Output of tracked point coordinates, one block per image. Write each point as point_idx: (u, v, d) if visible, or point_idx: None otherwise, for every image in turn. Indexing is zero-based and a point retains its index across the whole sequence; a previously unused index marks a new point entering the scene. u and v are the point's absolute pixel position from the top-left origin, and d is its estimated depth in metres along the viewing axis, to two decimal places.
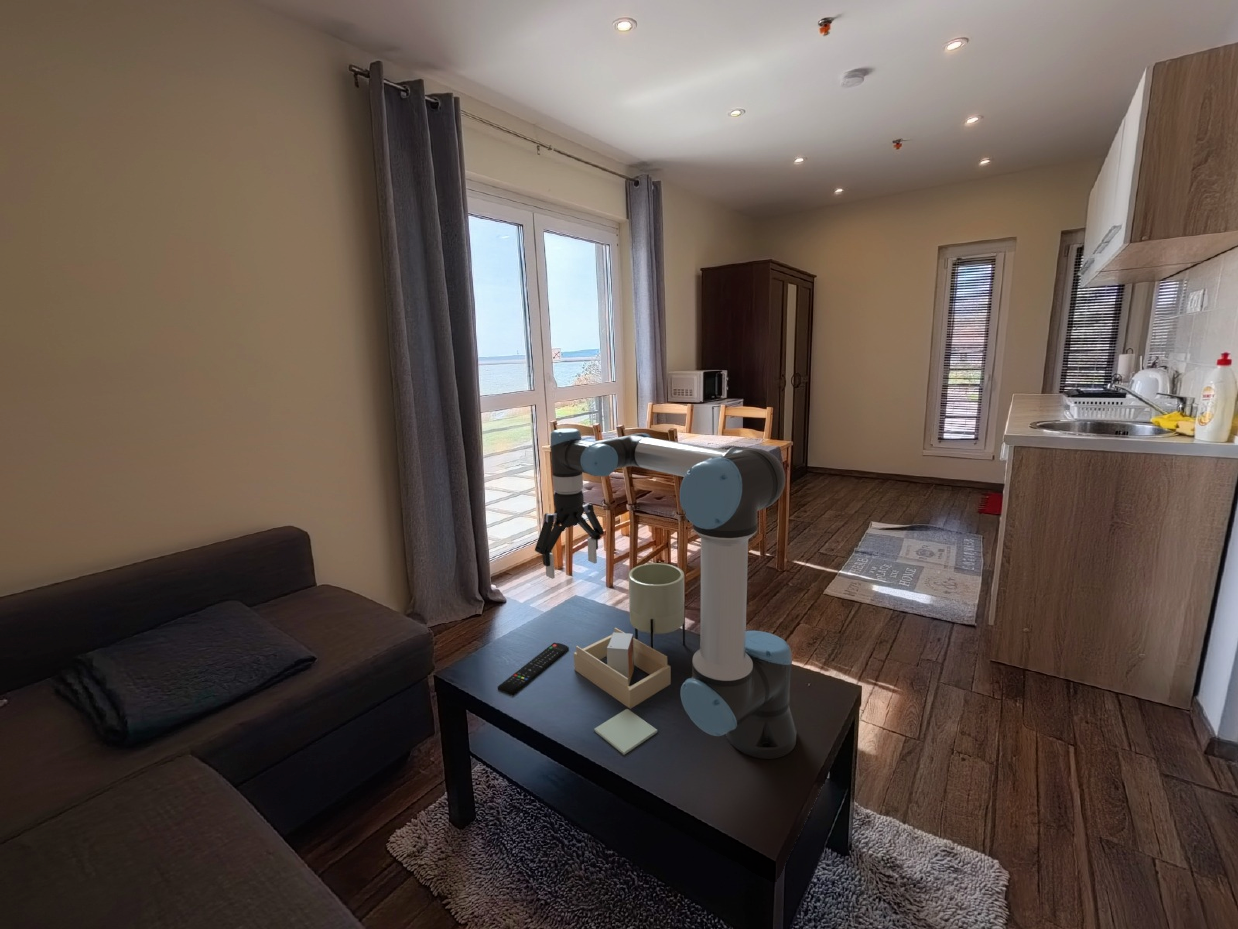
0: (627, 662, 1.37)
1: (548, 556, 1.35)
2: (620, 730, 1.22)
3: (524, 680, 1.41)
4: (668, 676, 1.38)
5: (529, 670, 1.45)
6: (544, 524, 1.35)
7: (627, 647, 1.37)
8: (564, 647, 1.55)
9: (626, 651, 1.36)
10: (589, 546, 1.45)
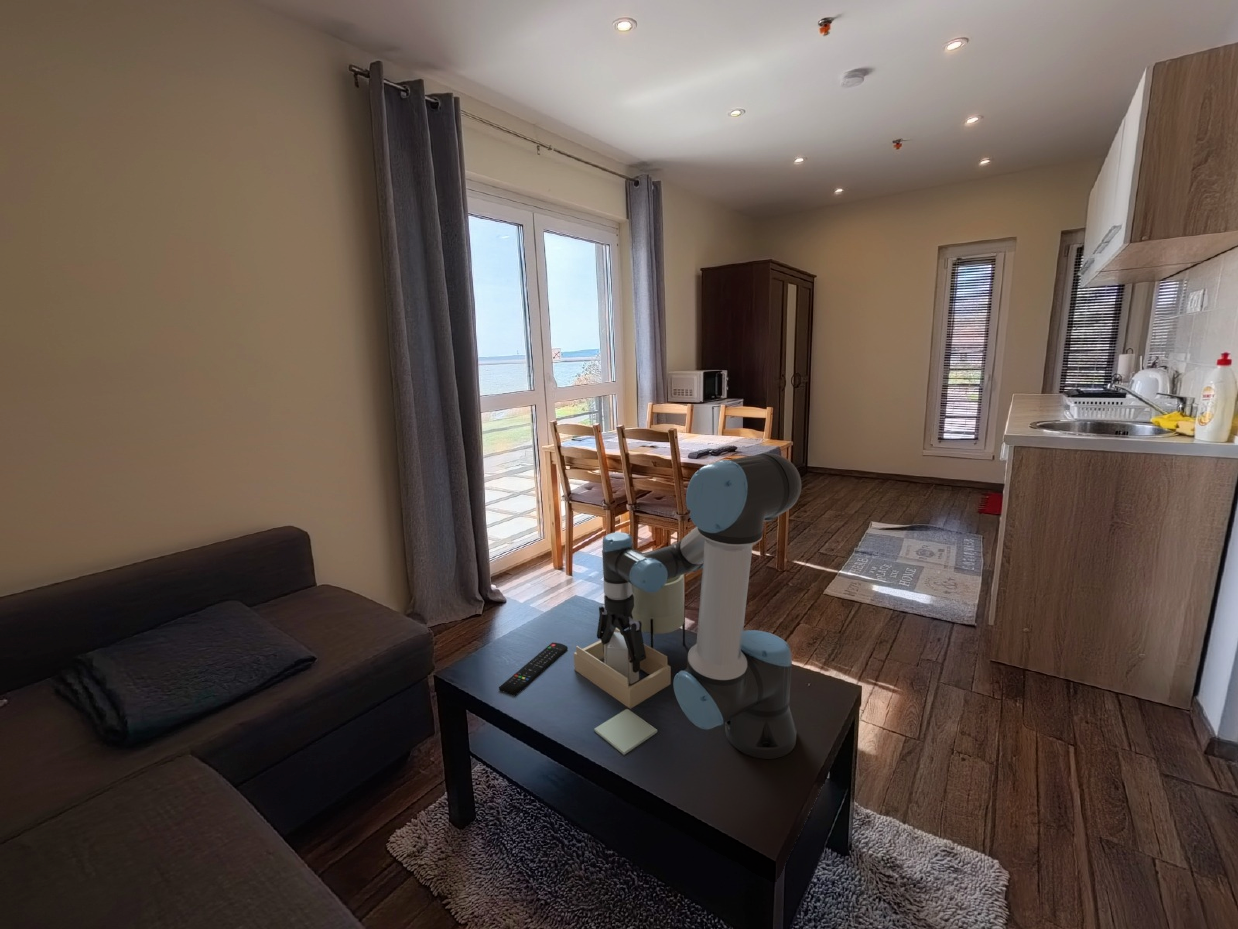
0: (627, 662, 1.37)
1: None
2: (620, 730, 1.22)
3: (525, 680, 1.41)
4: (668, 676, 1.38)
5: (529, 670, 1.45)
6: None
7: None
8: (563, 647, 1.56)
9: (626, 651, 1.36)
10: None
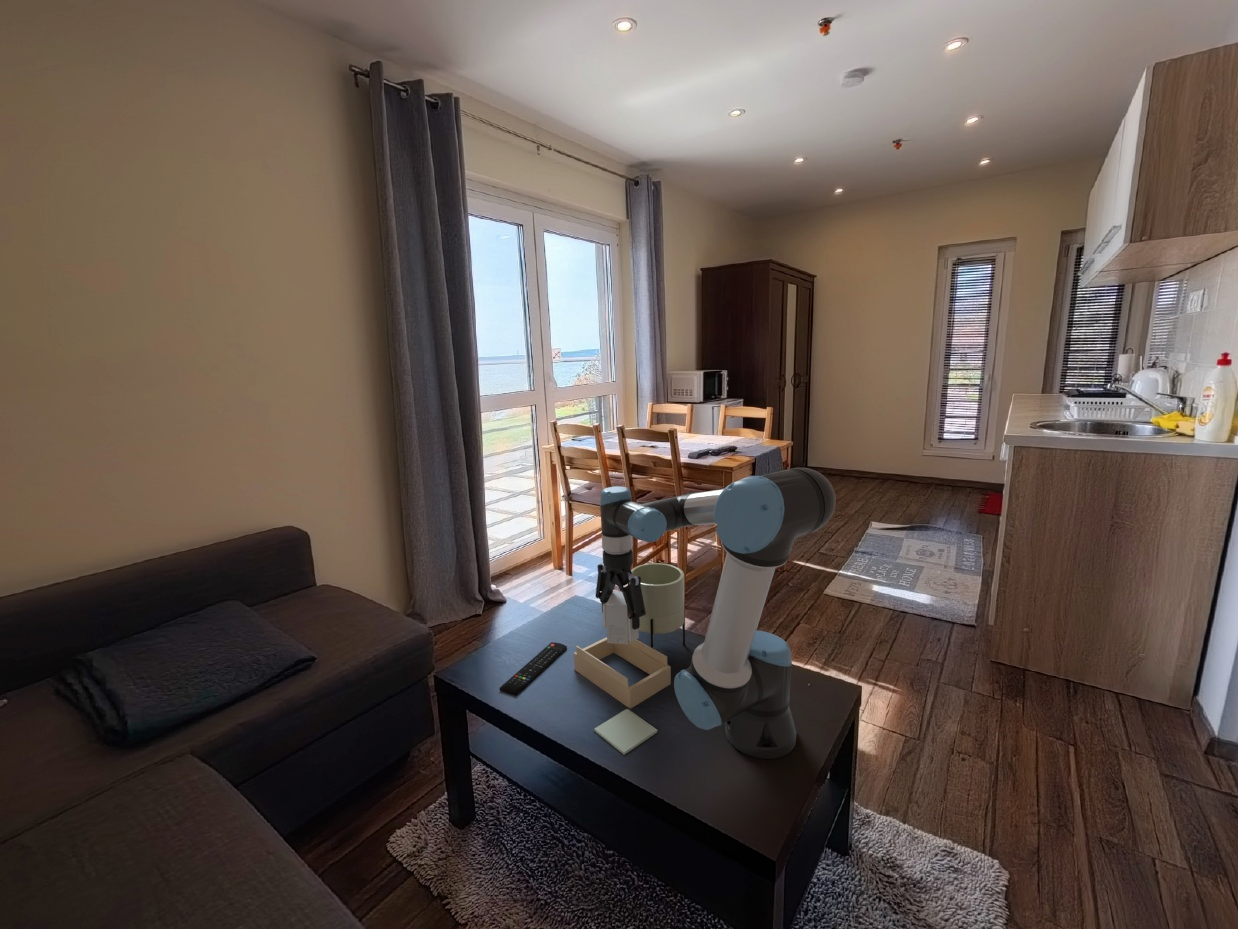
0: (626, 619, 1.34)
1: None
2: (620, 730, 1.22)
3: (526, 680, 1.41)
4: (668, 676, 1.38)
5: (529, 670, 1.45)
6: None
7: None
8: (562, 646, 1.56)
9: (625, 607, 1.33)
10: None
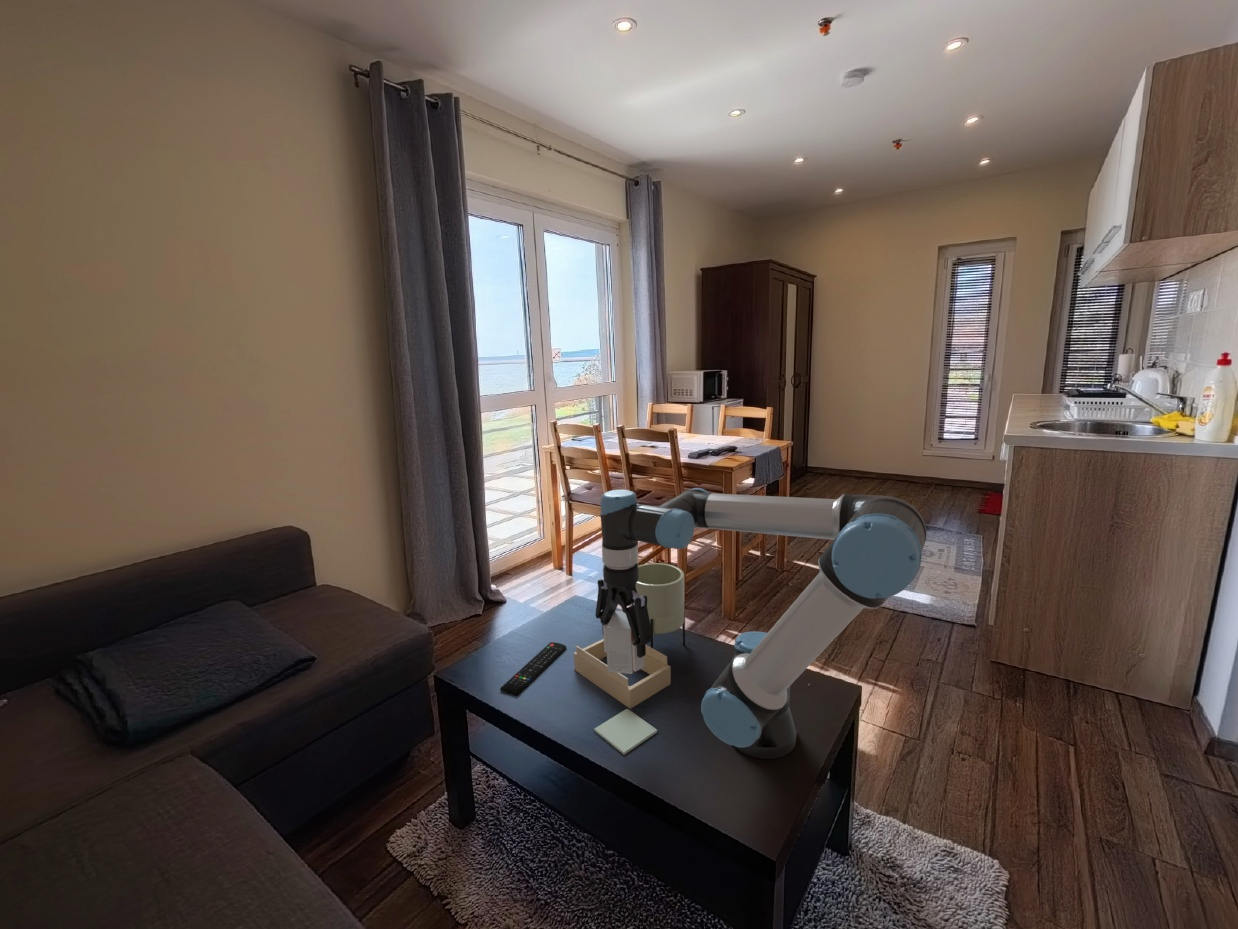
0: (630, 645, 1.14)
1: None
2: (620, 730, 1.22)
3: (526, 680, 1.41)
4: (668, 676, 1.38)
5: (530, 670, 1.45)
6: None
7: None
8: (562, 646, 1.56)
9: (629, 632, 1.14)
10: None
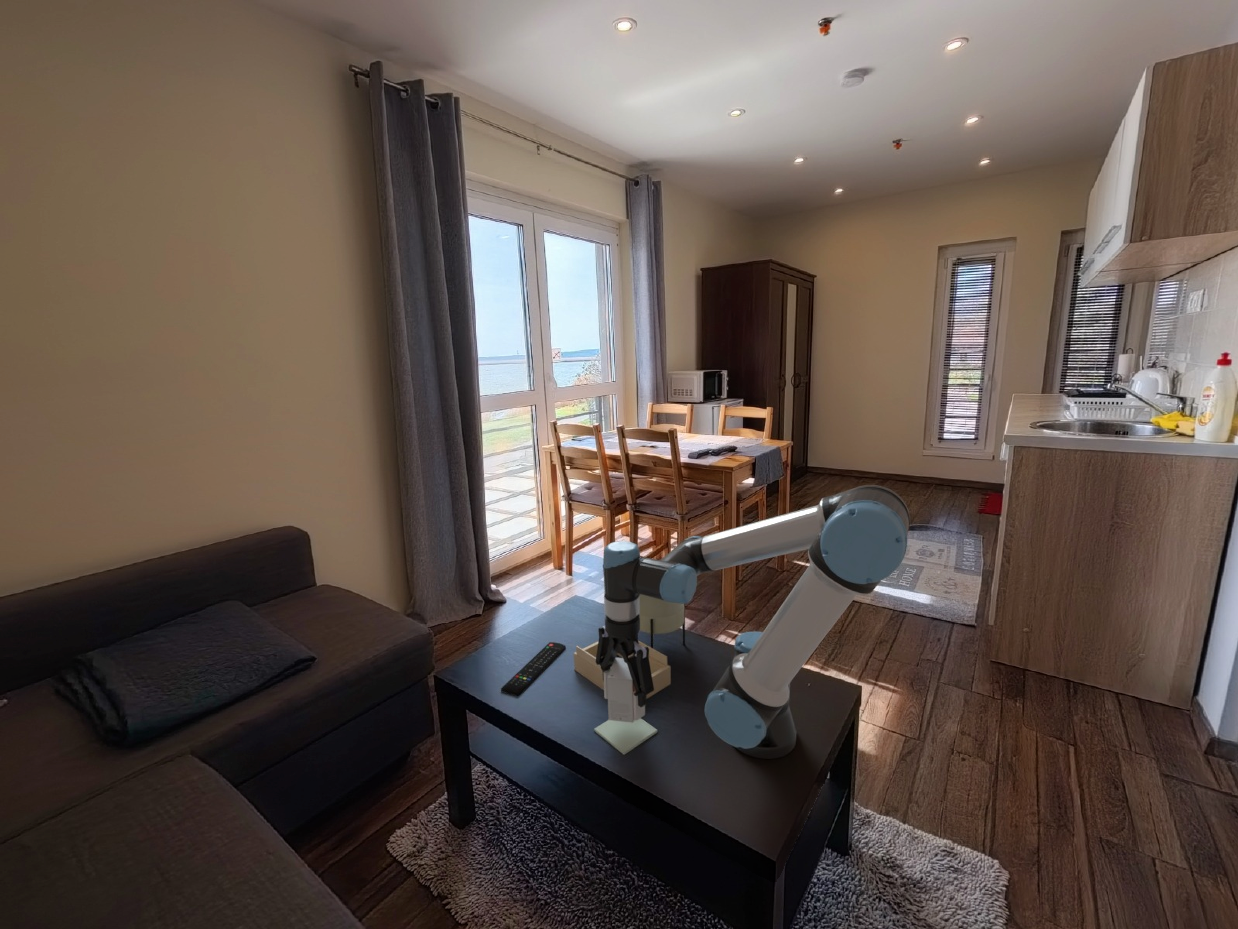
0: (631, 695, 1.15)
1: None
2: (620, 730, 1.22)
3: (527, 680, 1.41)
4: (668, 676, 1.38)
5: (530, 670, 1.45)
6: None
7: None
8: (561, 646, 1.56)
9: (630, 682, 1.15)
10: None
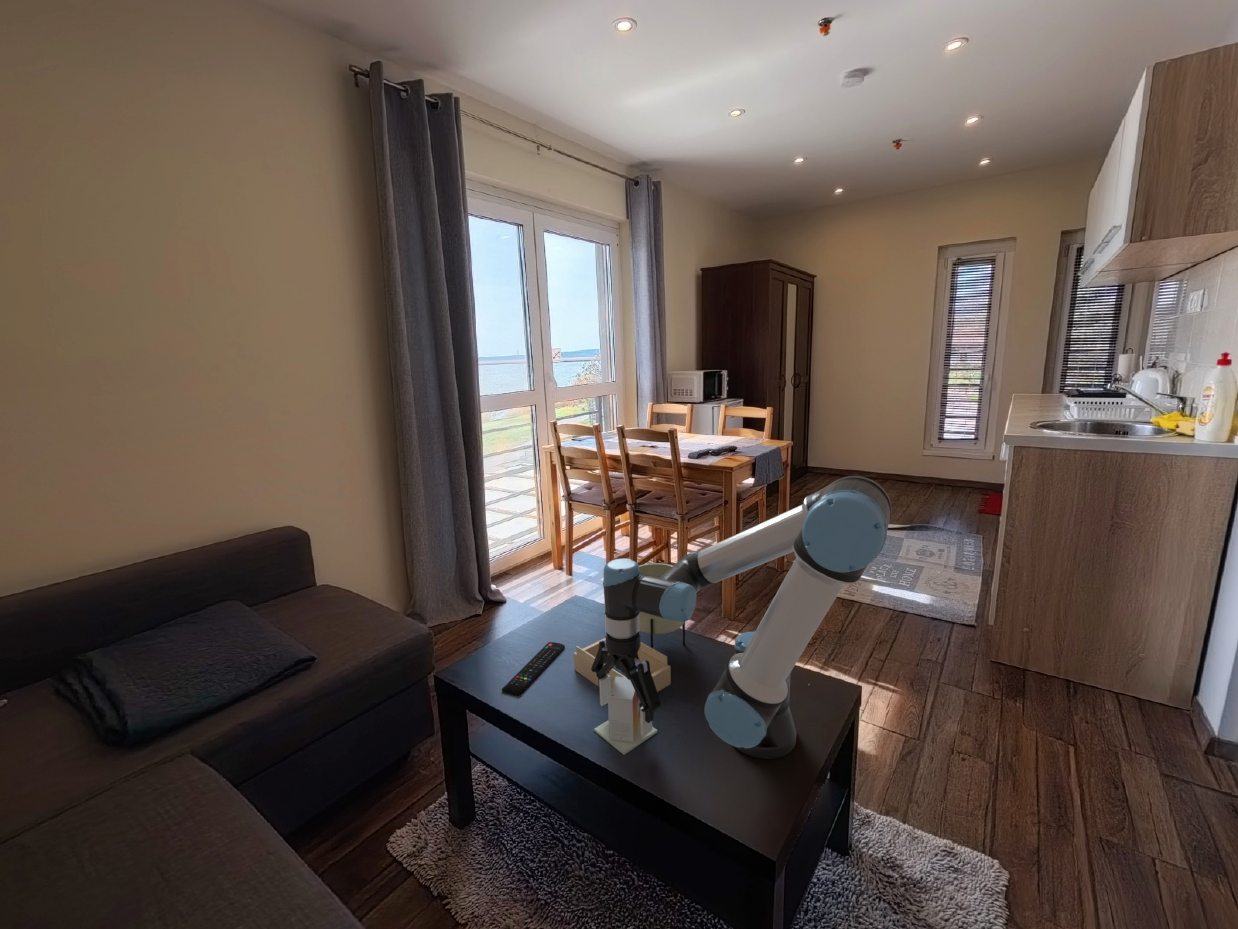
0: (631, 714, 1.16)
1: None
2: None
3: (527, 680, 1.41)
4: (668, 676, 1.38)
5: (530, 671, 1.45)
6: None
7: (631, 697, 1.17)
8: (560, 646, 1.56)
9: (630, 702, 1.16)
10: None
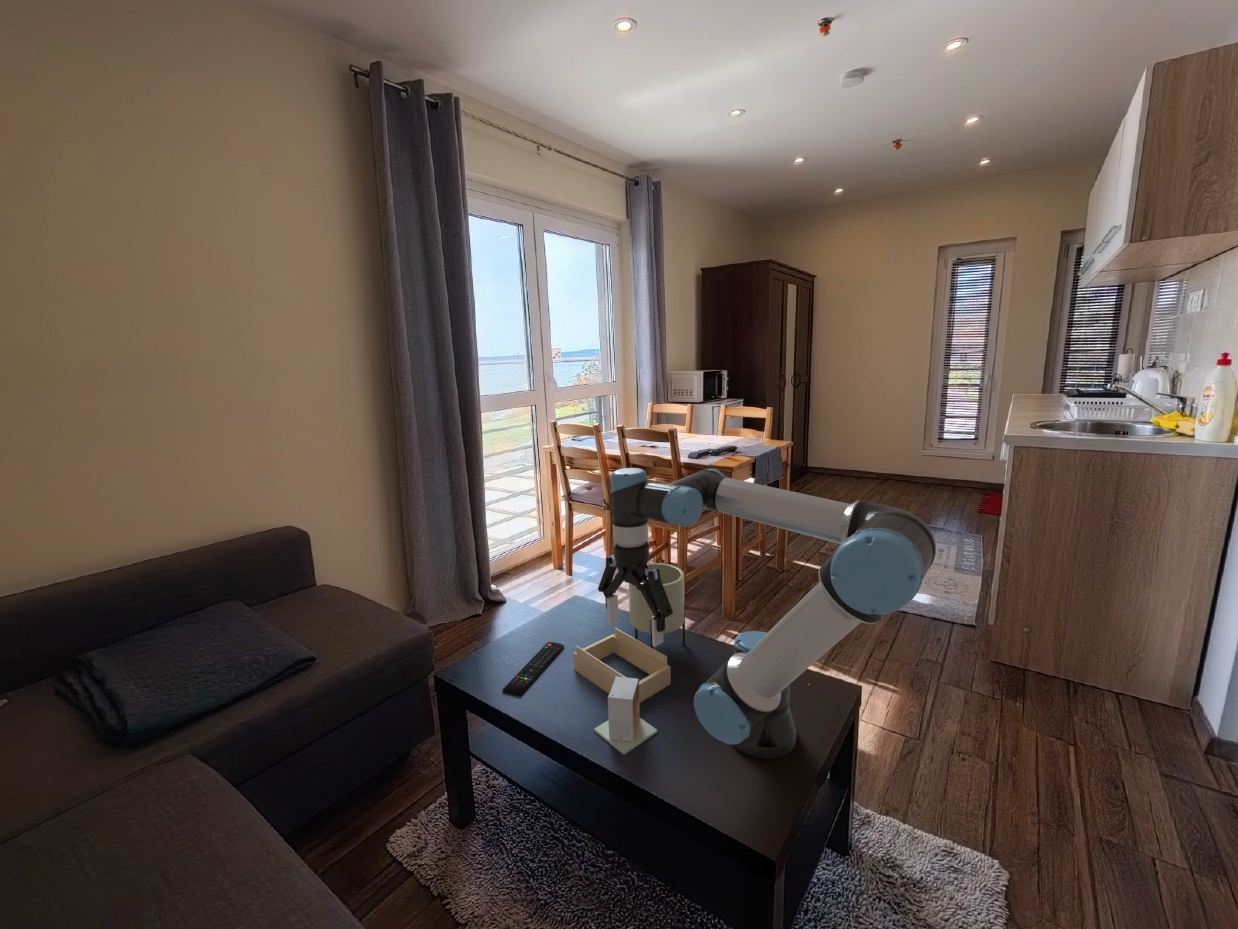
0: (631, 714, 1.16)
1: None
2: None
3: (528, 680, 1.40)
4: (668, 676, 1.38)
5: (530, 671, 1.45)
6: None
7: (631, 697, 1.17)
8: (559, 645, 1.56)
9: (630, 702, 1.16)
10: None
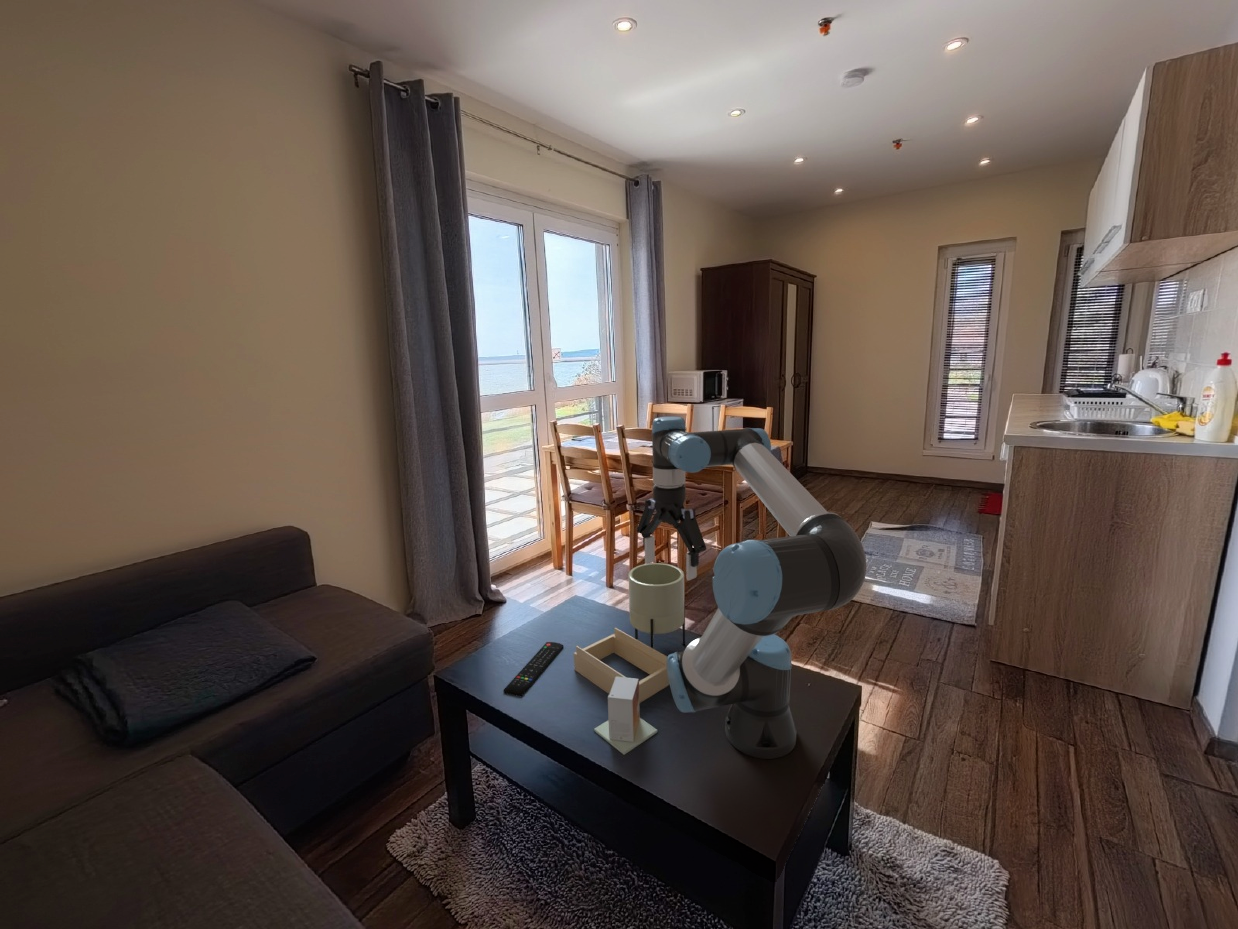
0: (631, 714, 1.16)
1: None
2: None
3: (528, 680, 1.40)
4: None
5: (530, 671, 1.45)
6: None
7: (631, 697, 1.17)
8: (559, 645, 1.56)
9: (630, 702, 1.16)
10: None
